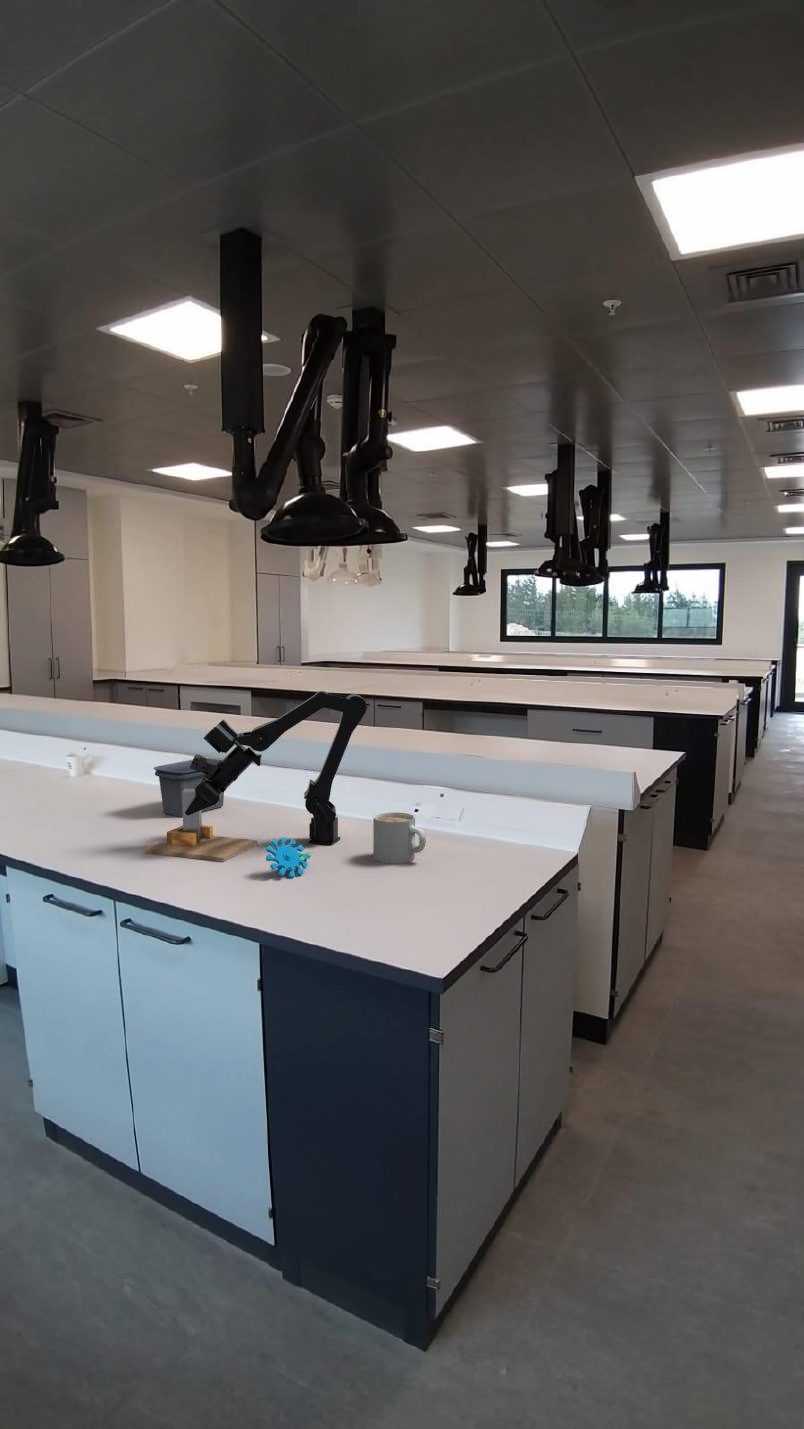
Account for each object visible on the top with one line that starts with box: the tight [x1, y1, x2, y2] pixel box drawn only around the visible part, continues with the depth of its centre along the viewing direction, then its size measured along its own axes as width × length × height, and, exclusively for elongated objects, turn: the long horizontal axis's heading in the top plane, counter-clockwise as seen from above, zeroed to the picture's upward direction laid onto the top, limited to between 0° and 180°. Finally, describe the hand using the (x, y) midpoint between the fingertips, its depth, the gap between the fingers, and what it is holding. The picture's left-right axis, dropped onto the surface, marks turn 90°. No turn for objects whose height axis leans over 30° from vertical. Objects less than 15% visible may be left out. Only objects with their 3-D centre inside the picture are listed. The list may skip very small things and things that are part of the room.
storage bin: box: [153, 757, 225, 818], centre depth 227 cm, size 21×16×14 cm
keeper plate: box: [144, 824, 258, 863], centre depth 188 cm, size 22×16×4 cm
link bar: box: [182, 789, 203, 843], centre depth 190 cm, size 4×4×13 cm
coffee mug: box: [372, 811, 427, 865], centre depth 180 cm, size 13×10×10 cm
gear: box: [265, 836, 312, 879], centre depth 170 cm, size 11×6×10 cm
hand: (189, 810), depth 190 cm, fingers open, 9 cm apart
